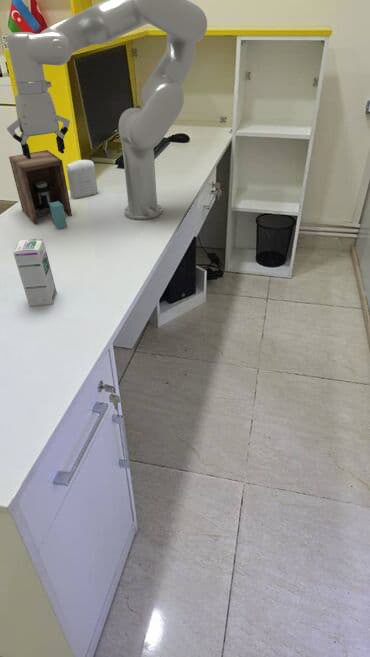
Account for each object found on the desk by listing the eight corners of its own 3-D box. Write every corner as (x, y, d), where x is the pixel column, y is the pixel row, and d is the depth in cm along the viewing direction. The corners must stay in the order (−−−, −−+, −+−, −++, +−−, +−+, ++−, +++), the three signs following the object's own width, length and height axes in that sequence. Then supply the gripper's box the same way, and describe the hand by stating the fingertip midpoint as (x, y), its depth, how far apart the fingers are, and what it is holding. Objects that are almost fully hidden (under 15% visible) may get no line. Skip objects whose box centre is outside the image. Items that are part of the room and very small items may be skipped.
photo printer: (95, 190, 168) (90, 156, 160) (100, 193, 165) (95, 159, 157) (69, 196, 163) (62, 161, 156) (73, 200, 160) (67, 164, 153)
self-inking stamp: (33, 214, 151) (25, 185, 144) (40, 208, 155) (33, 179, 149) (51, 215, 149) (45, 185, 143) (58, 209, 154) (52, 180, 148)
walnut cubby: (72, 215, 149) (61, 160, 138) (34, 224, 144) (21, 167, 133) (58, 202, 158) (47, 150, 148) (22, 210, 153) (8, 156, 142)
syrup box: (53, 304, 106) (39, 249, 97) (28, 306, 106) (12, 251, 97) (56, 291, 111) (44, 238, 102) (32, 293, 110) (18, 239, 102)
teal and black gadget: (77, 223, 142) (73, 202, 138) (47, 231, 138) (42, 209, 134) (55, 203, 156) (51, 183, 152) (27, 210, 152) (22, 189, 148)
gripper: (58, 83, 124) (69, 147, 135) (-5, 89, 117) (11, 157, 127) (68, 86, 119) (78, 153, 129) (2, 93, 112) (18, 163, 122)
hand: (45, 155), depth 128 cm, fingers open, 9 cm apart
